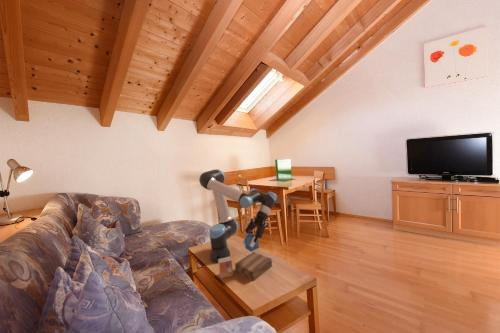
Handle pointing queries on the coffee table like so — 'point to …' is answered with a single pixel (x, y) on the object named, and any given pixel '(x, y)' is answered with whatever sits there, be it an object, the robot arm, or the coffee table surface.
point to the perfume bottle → (248, 241)
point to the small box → (225, 267)
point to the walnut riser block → (253, 265)
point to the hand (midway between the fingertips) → (247, 244)
